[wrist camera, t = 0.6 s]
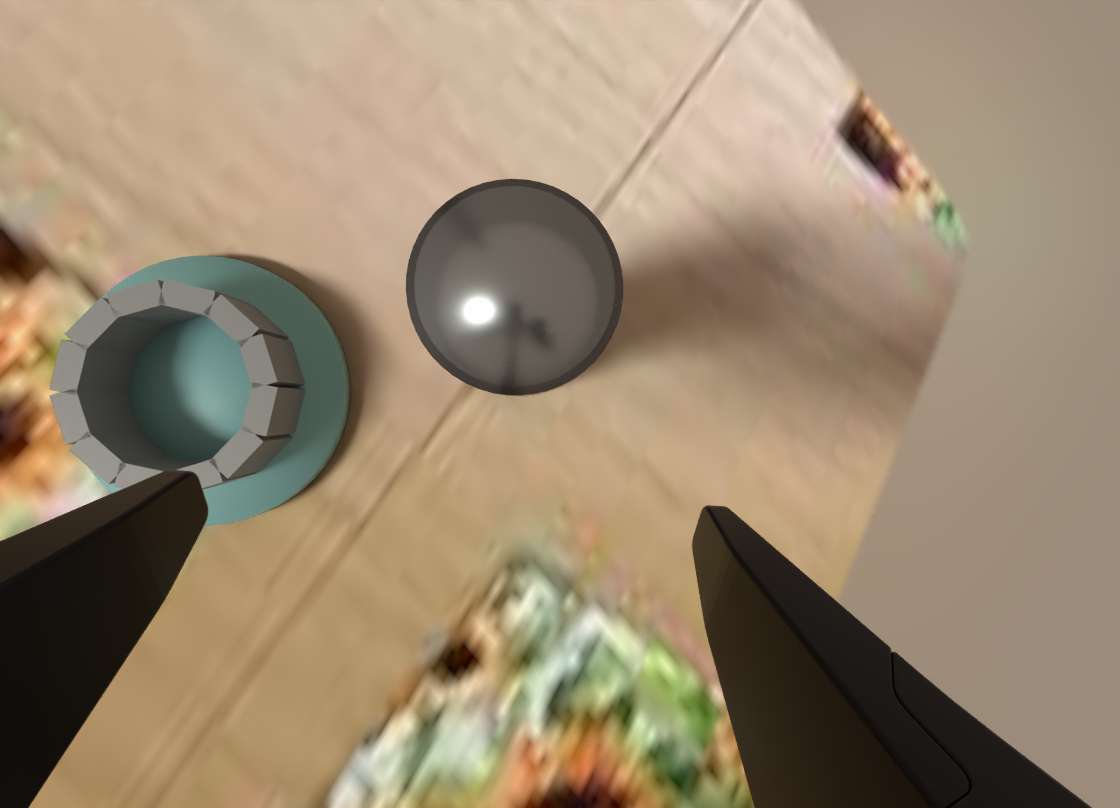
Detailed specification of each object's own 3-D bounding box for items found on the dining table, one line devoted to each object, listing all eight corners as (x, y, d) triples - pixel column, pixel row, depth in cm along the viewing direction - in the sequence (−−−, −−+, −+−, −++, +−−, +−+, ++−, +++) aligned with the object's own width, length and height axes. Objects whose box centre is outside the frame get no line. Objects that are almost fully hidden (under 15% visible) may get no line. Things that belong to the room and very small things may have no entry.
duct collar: (223, 575, 23) (173, 602, 20) (21, 397, 23) (-66, 396, 19) (403, 384, 24) (383, 380, 20) (210, 206, 23) (156, 173, 20)
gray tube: (526, 421, 24) (521, 440, 11) (451, 352, 24) (357, 289, 11) (593, 348, 24) (668, 282, 11) (520, 279, 24) (509, 131, 11)
